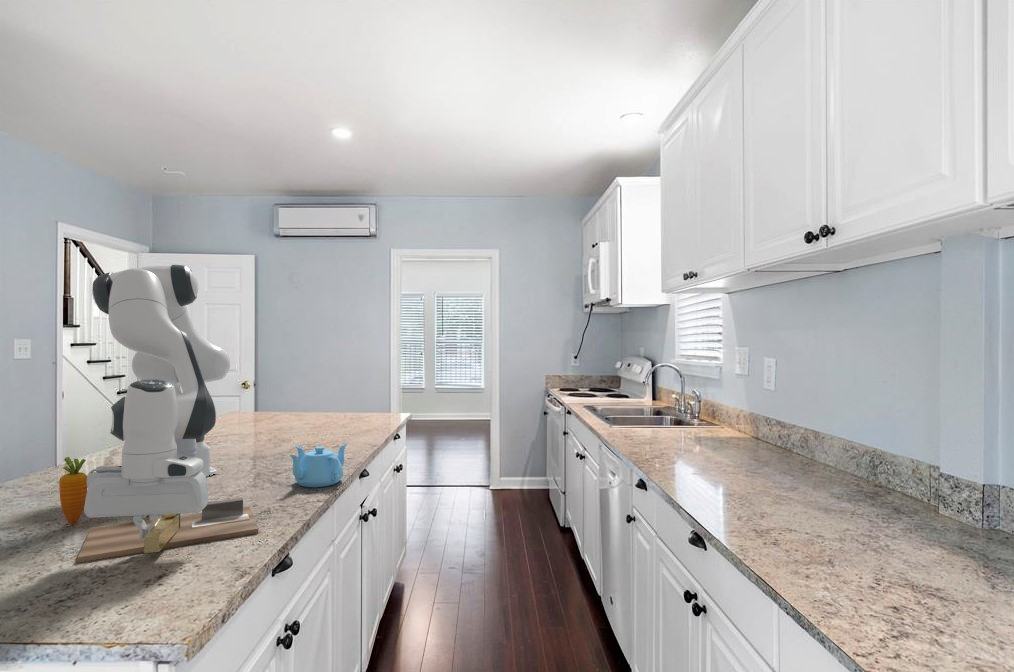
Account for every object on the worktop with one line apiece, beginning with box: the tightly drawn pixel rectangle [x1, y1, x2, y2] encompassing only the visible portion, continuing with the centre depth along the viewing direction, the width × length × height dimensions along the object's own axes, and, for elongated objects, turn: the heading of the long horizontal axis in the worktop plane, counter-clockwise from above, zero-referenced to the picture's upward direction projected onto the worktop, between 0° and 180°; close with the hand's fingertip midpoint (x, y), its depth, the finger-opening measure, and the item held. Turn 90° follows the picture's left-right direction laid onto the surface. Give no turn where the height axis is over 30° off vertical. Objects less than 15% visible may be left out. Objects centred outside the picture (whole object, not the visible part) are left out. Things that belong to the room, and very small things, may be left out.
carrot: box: [58, 456, 88, 527], centre depth 117 cm, size 5×5×15 cm
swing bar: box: [143, 514, 179, 554], centre depth 106 cm, size 17×4×5 cm, turn 18°
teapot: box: [288, 442, 349, 488], centre depth 153 cm, size 15×15×10 cm
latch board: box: [77, 497, 260, 563], centre depth 113 cm, size 18×30×5 cm, turn 121°
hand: (147, 537), depth 103 cm, fingers closed
